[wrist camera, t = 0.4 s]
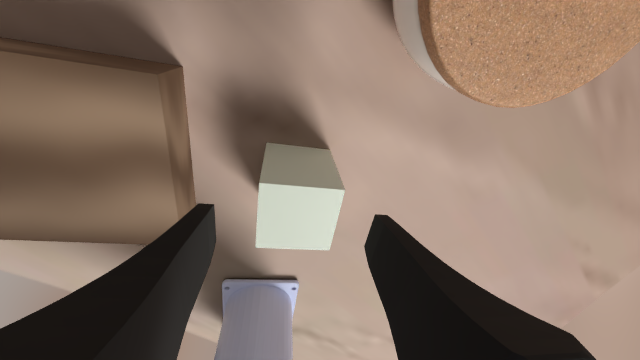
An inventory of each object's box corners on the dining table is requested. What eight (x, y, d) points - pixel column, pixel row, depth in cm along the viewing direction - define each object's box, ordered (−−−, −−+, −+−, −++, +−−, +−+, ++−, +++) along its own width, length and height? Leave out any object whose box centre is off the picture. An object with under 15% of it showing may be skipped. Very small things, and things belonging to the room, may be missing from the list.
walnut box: (198, 212, 22) (181, 245, 18) (36, 203, 20) (-16, 238, 16) (184, 65, 16) (157, 74, 13) (-48, 28, 14) (-158, 27, 10)
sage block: (319, 200, 22) (329, 250, 17) (262, 196, 21) (255, 247, 16) (329, 149, 20) (345, 190, 15) (266, 142, 19) (259, 183, 14)
